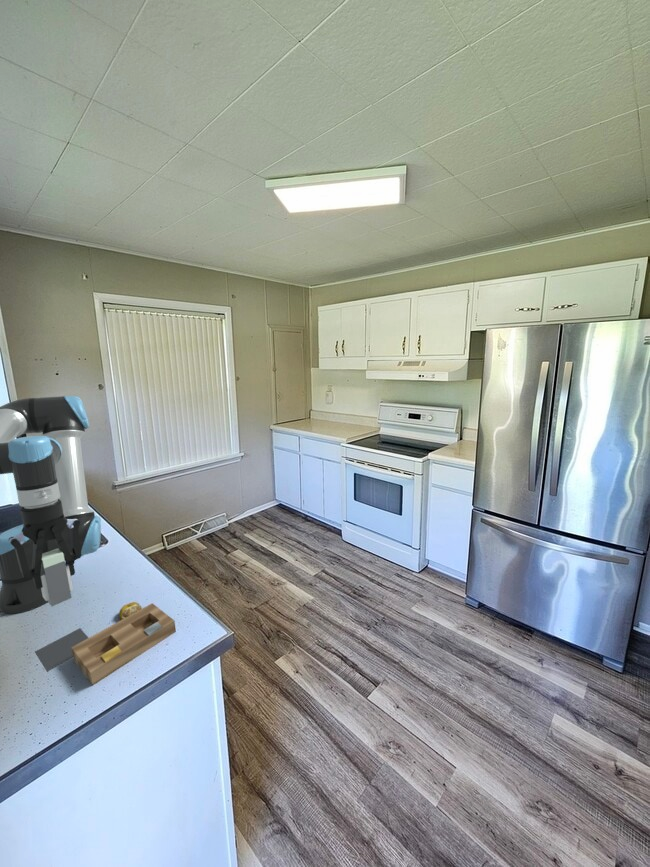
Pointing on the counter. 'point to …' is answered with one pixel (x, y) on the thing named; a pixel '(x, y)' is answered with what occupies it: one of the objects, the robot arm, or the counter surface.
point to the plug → (56, 576)
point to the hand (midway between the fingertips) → (58, 592)
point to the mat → (60, 649)
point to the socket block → (122, 642)
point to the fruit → (129, 610)
